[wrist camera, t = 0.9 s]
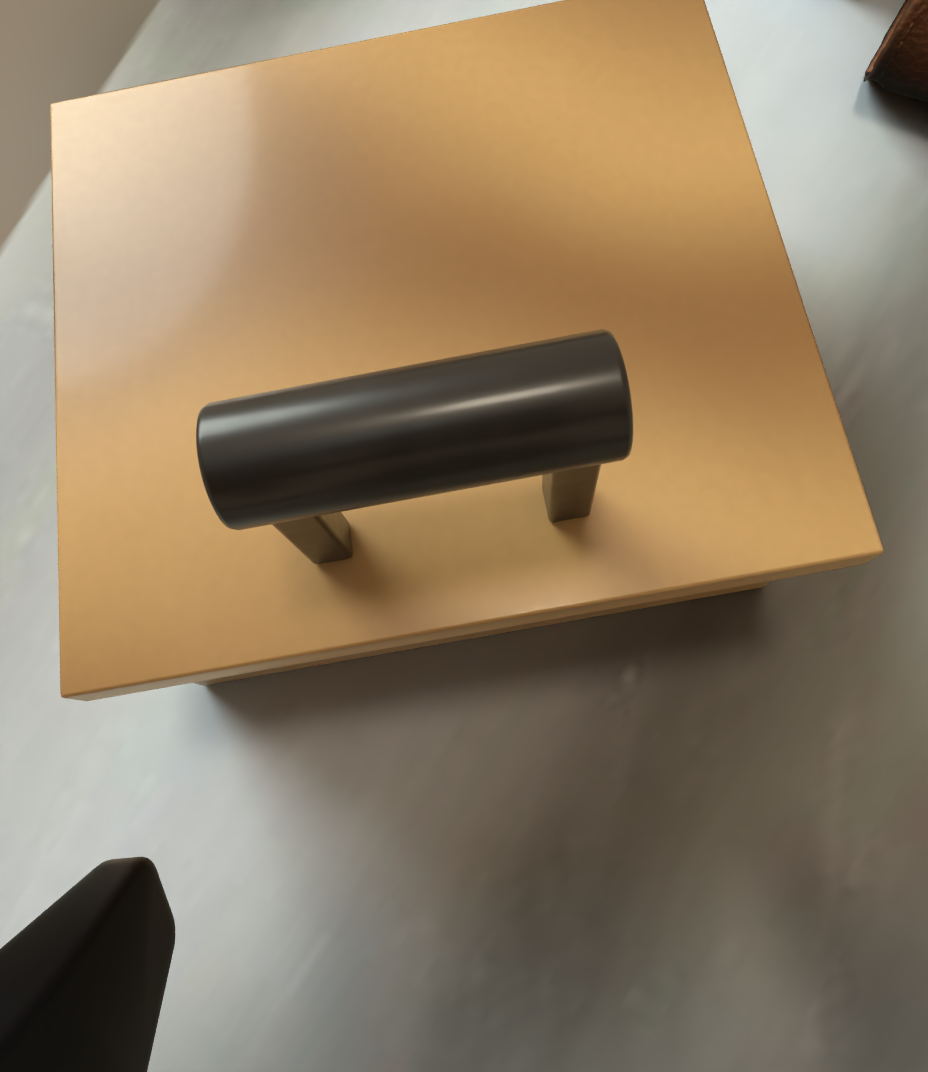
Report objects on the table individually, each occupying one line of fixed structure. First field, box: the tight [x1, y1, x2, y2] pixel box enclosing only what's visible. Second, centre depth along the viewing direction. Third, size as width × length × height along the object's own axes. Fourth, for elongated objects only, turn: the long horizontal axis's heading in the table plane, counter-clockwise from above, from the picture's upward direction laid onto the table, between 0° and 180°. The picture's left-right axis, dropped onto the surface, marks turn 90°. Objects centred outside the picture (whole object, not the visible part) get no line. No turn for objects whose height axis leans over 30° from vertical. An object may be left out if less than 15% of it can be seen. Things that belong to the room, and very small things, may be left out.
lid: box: [50, 0, 883, 701], centre depth 13 cm, size 12×14×5 cm
